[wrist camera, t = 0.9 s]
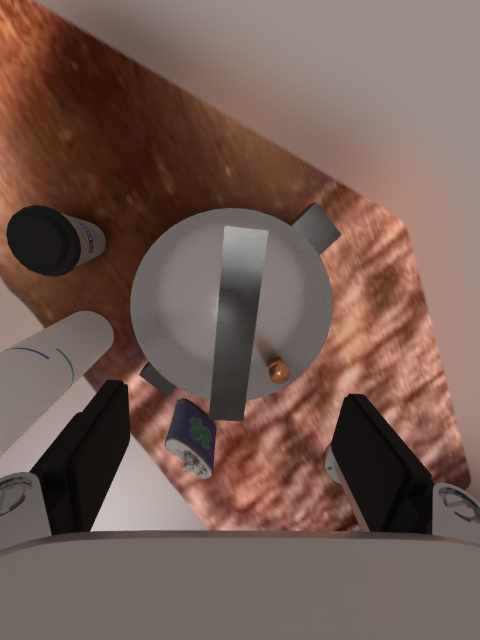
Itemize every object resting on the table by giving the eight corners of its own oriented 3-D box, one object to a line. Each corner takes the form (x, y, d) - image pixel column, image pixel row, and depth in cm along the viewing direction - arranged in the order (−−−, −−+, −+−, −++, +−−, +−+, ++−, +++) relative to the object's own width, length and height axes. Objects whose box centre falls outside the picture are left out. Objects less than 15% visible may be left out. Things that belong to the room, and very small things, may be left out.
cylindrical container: (76, 301, 37) (-197, 427, 13) (122, 327, 38) (-47, 481, 15) (56, 339, 38) (-217, 512, 15) (101, 362, 40) (-80, 552, 16)
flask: (173, 403, 43) (157, 456, 33) (186, 394, 43) (174, 444, 32) (208, 436, 46) (203, 494, 36) (221, 428, 45) (220, 484, 35)
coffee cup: (79, 274, 35) (26, 289, 26) (49, 223, 33) (-21, 220, 24) (124, 255, 35) (87, 263, 25) (97, 202, 33) (44, 191, 23)
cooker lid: (131, 196, 22) (98, 184, 16) (348, 222, 23) (387, 219, 18) (137, 389, 28) (114, 429, 22) (308, 399, 29) (327, 439, 24)
